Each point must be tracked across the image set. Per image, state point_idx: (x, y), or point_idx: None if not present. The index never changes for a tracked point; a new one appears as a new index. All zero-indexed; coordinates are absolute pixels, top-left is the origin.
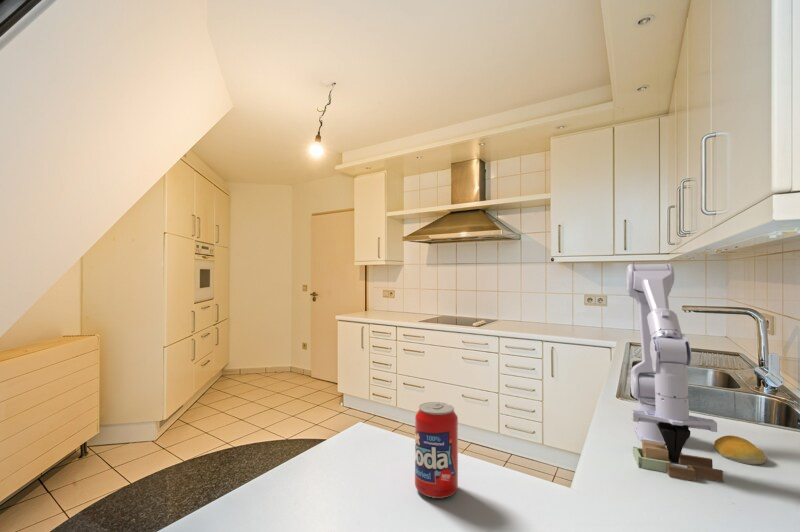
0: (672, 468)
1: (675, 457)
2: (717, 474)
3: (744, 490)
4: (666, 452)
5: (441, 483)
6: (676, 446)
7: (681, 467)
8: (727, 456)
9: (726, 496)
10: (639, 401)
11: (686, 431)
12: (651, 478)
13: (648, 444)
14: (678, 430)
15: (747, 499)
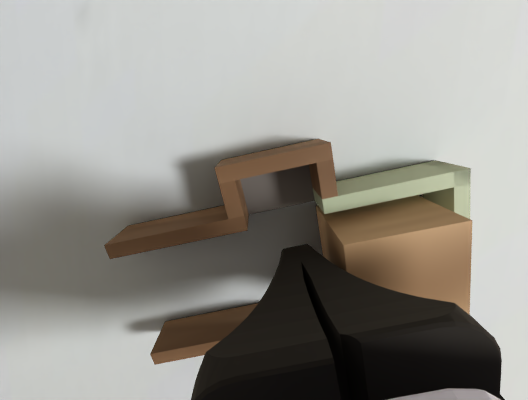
0: (313, 146)
1: (297, 253)
2: (134, 232)
3: (57, 191)
4: (348, 238)
5: None
6: (302, 284)
7: (273, 169)
8: None
9: (109, 74)
10: None
11: (226, 395)
12: (395, 64)
13: (442, 282)
14: (315, 377)
15: (39, 100)
